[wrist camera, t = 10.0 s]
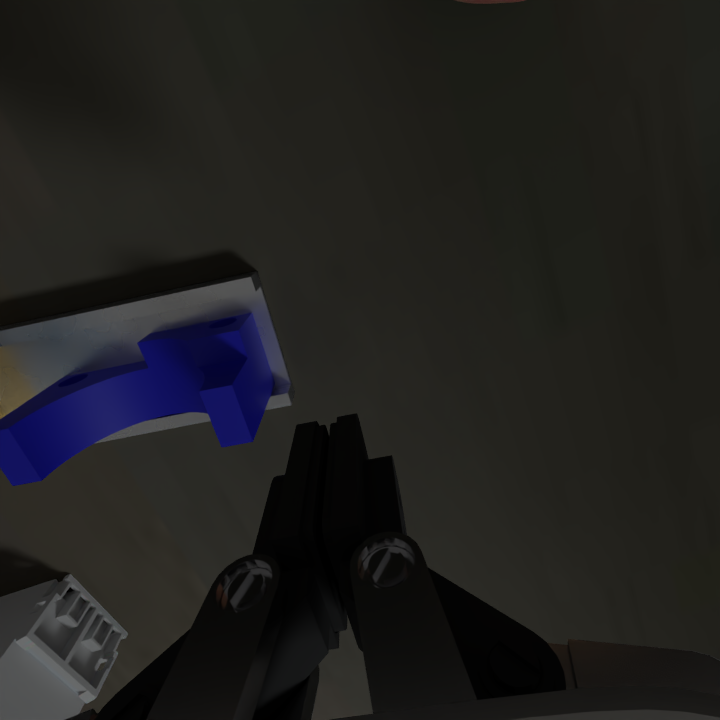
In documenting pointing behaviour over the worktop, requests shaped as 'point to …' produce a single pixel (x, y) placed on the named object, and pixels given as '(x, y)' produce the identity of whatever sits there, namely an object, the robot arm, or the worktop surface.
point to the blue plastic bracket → (145, 396)
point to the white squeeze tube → (130, 342)
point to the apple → (488, 1)
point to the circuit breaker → (53, 650)
